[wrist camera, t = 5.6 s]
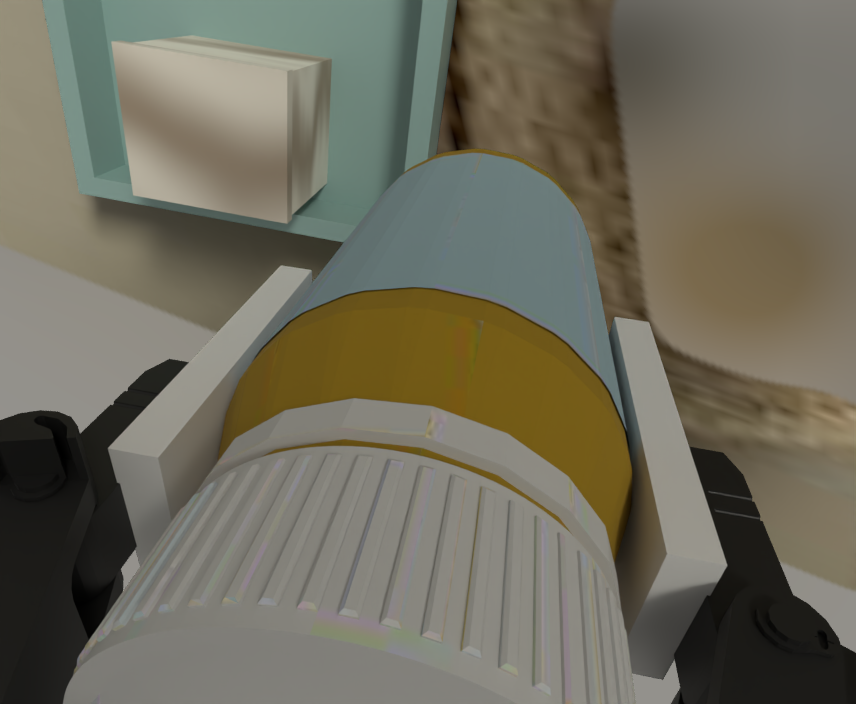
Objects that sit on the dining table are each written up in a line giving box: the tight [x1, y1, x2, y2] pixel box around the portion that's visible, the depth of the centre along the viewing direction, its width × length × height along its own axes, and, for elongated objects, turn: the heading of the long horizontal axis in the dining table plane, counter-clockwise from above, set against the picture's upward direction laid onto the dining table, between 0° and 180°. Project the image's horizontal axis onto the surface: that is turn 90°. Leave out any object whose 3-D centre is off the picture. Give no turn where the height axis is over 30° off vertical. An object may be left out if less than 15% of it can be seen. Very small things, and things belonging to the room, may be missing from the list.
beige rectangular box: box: [111, 35, 332, 224], centre depth 27 cm, size 6×7×6 cm
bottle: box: [63, 149, 636, 704], centre depth 12 cm, size 7×7×15 cm
